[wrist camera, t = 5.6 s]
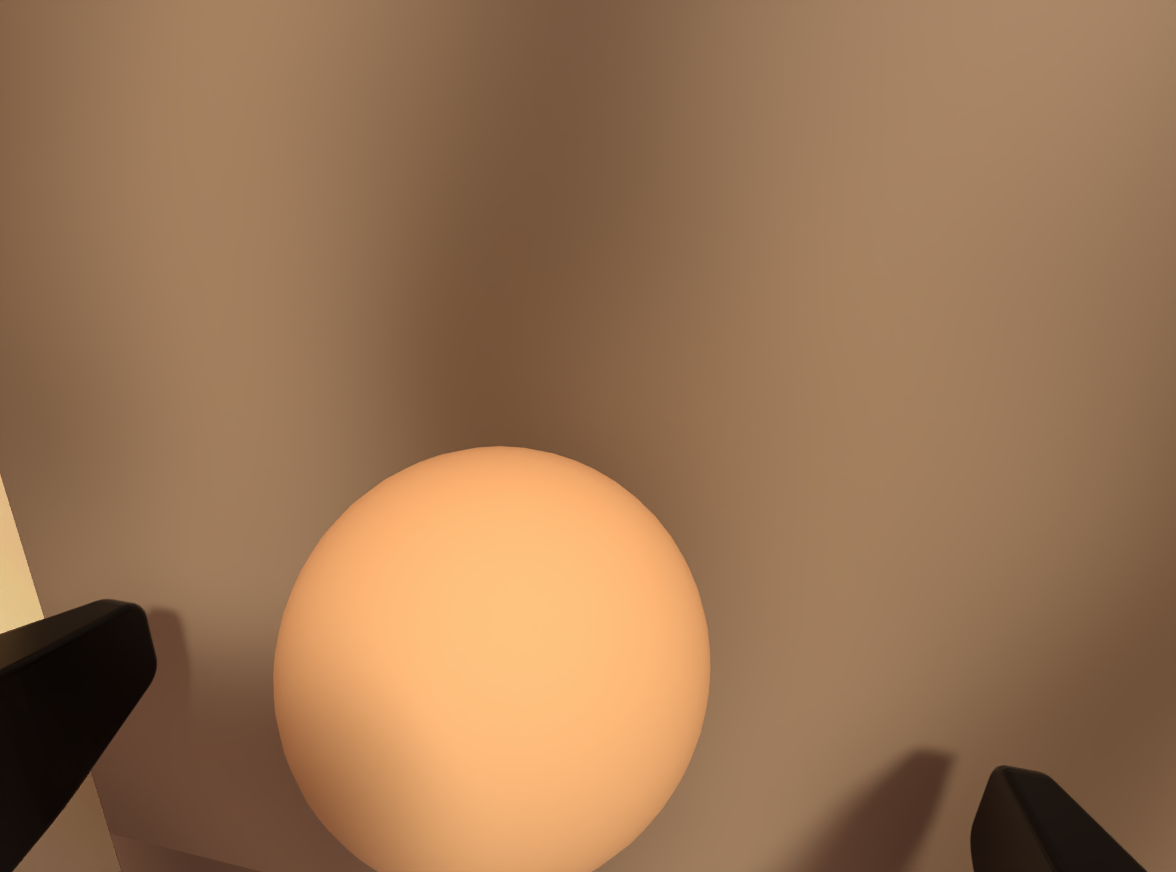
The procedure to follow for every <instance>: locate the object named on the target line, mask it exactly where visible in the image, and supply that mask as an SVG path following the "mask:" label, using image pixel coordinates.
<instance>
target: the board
mask: <svg viewBox="0 0 1176 872" xmlns="http://www.w3.org/2000/svg"><path fill="white" fill-rule="evenodd" d="M494 446H505V447H520V448H528V449H533V450H538V451H544V452H549V453H554V454H557V455H560V456H563V457H566V458H569V459H572V460H575V461H578V462H580V463H582V464H584V465H586V466H589V467H591V468H593V469H595V470H597V471H599V472H600V473H602V474H604V475H605V476H607V477H609V478H610V479H612V480H614V481H615V482H617V483H618V484H619V485H621V486H622V487H623V488H625V489H626V490H627V491H628V492H630V493H631V494H632V495H634V496H635V497H636V498H637V499H638V500H639V501H640V502H641V503H642V504H643V505H644V506H645V507H646V508H647V509H648V510H649V511H650V512H651V513H652V514H653V515H654V516H656V518H657V519H658V520H659V521H660V523H661V524H662V525H663V527H664V528H665V529H666V530H667V532H668V533H669V534H670V535H671V537H672V539H673V540H674V542H675V544H676V545H677V547H678V549H679V550H680V552H681V554H682V555H683V557H684V559H685V561H686V563H687V565H688V567H689V569H690V572H691V574H692V576H693V579H694V581H695V583H696V586H697V588H698V591H699V595H700V599H701V602H702V606H703V610H704V614H705V618H706V623H707V627H708V636H709V645H710V685H709V696H708V701H707V707H706V712H705V717H704V721H703V725H702V730H701V734H700V737H699V739H698V742H697V745H696V747H695V750H694V753H693V755H692V758H691V760H690V762H689V765H688V767H687V769H686V772H685V774H684V776H683V777H682V779H681V781H680V782H679V784H678V786H677V787H676V789H675V791H674V792H673V794H672V795H671V797H670V798H669V800H668V801H667V803H666V804H665V806H664V808H663V809H662V811H661V812H660V813H659V814H658V815H657V816H656V817H655V819H654V820H653V821H652V822H651V823H650V824H649V825H648V826H647V827H646V829H645V830H644V831H643V832H642V833H641V834H640V835H639V836H638V837H637V838H636V839H635V840H634V841H633V842H632V843H631V844H630V845H629V846H627V847H626V848H625V849H623V850H622V851H621V852H619V853H618V854H617V855H615V856H614V857H613V858H611V859H610V860H609V861H607V862H606V863H604V864H603V865H602V866H600V867H599V868H598V869H596V870H594V871H592V872H974V871H973V865H972V858H971V850H970V834H971V828H972V824H973V821H974V818H975V815H976V812H977V810H978V807H979V804H980V801H981V799H982V796H983V793H984V790H985V788H986V785H987V782H988V779H989V777H990V775H991V773H992V771H993V770H994V769H995V768H996V767H997V766H1001V765H1008V766H1013V767H1018V768H1024V769H1029V770H1034V771H1039V772H1042V773H1045V774H1046V775H1048V776H1050V777H1051V778H1052V779H1053V780H1054V781H1056V782H1057V783H1058V784H1059V785H1060V786H1061V787H1062V788H1063V789H1064V790H1065V791H1066V792H1067V793H1068V794H1069V795H1070V796H1071V797H1072V798H1073V799H1074V800H1075V801H1076V802H1077V803H1078V804H1079V805H1080V806H1081V807H1082V808H1083V809H1084V810H1085V811H1086V812H1087V813H1088V814H1089V815H1090V816H1091V817H1092V818H1093V819H1094V820H1095V821H1097V822H1098V823H1099V824H1100V825H1101V826H1102V827H1103V828H1104V829H1105V830H1106V831H1107V832H1108V833H1109V834H1110V835H1111V836H1112V837H1113V838H1114V839H1115V840H1116V841H1117V842H1118V843H1119V844H1120V845H1121V846H1122V847H1123V848H1124V849H1125V850H1126V851H1127V852H1128V853H1129V854H1130V855H1131V856H1132V857H1133V858H1134V859H1135V860H1136V861H1137V862H1138V863H1139V864H1140V865H1141V866H1142V867H1144V868H1145V869H1146V870H1147V871H1148V872H1176V0H0V474H1V478H2V481H3V484H4V487H5V491H6V494H7V497H8V501H9V504H10V507H11V510H12V514H13V517H14V520H15V523H16V527H17V530H18V533H19V537H20V540H21V543H22V546H23V550H24V553H25V556H26V560H27V563H28V566H29V569H30V573H31V576H32V579H33V582H34V586H35V589H36V592H37V596H38V599H39V602H40V605H41V609H42V612H43V615H44V618H48V617H51V616H54V615H57V614H60V613H62V612H65V611H68V610H71V609H74V608H77V607H80V606H83V605H86V604H88V603H91V602H94V601H97V600H101V599H115V600H120V601H126V602H131V603H136V604H138V605H140V606H141V607H142V608H143V609H144V610H145V612H146V615H147V618H148V623H149V627H150V631H151V635H152V639H153V644H154V648H155V652H156V656H157V670H156V674H155V677H154V679H153V681H152V683H151V685H150V686H149V688H148V689H147V691H146V692H145V693H144V695H143V696H142V698H141V699H140V701H139V702H138V703H137V705H136V706H135V708H134V709H133V711H132V712H131V714H130V715H129V716H128V718H127V719H126V721H125V722H124V724H123V725H122V726H121V728H120V729H119V731H118V732H117V734H116V735H115V737H114V738H113V739H112V741H111V742H110V744H109V745H108V747H107V748H106V749H105V751H104V752H103V754H102V755H101V757H100V758H99V760H98V761H97V762H96V764H95V765H94V767H93V768H92V770H91V772H92V776H93V779H94V782H95V786H96V789H97V792H98V795H99V799H100V802H101V805H102V808H103V812H104V815H105V818H106V822H107V825H108V828H109V831H110V835H111V838H112V841H113V844H114V848H115V851H116V854H117V858H118V861H119V864H120V867H121V871H122V872H377V871H376V870H374V869H372V868H371V867H369V866H368V865H366V864H365V863H364V862H362V861H361V860H359V859H358V858H357V857H356V856H355V855H353V854H352V853H351V852H350V851H349V850H347V849H346V848H345V847H344V846H343V845H342V844H341V843H340V842H339V841H338V840H337V839H336V838H335V837H334V836H333V835H332V834H331V833H330V832H329V831H328V830H327V828H326V827H325V826H324V825H323V824H322V822H321V821H320V820H319V819H318V818H317V816H316V815H315V813H314V812H313V810H312V809H311V808H310V806H309V805H308V803H307V802H306V800H305V798H304V796H303V794H302V792H301V790H300V788H299V786H298V784H297V782H296V780H295V778H294V776H293V774H292V772H291V770H290V767H289V765H288V762H287V759H286V757H285V754H284V751H283V746H282V742H281V738H280V733H279V729H278V725H277V720H276V716H275V705H274V683H273V672H274V658H275V650H276V644H277V639H278V633H279V629H280V625H281V621H282V616H283V612H284V610H285V607H286V604H287V602H288V599H289V596H290V594H291V591H292V589H293V586H294V584H295V582H296V580H297V577H298V575H299V573H300V571H301V569H302V568H303V566H304V564H305V563H306V561H307V559H308V558H309V556H310V554H311V553H312V551H313V550H314V548H315V547H316V545H317V544H318V542H319V541H320V539H321V538H322V536H323V535H324V534H325V533H326V532H327V531H328V529H329V528H330V527H331V526H332V525H333V524H334V523H335V521H336V520H337V519H338V518H339V517H340V516H341V515H342V514H343V513H344V512H345V511H346V510H347V509H348V508H349V507H350V506H351V505H352V504H353V503H354V502H356V501H357V500H358V499H359V498H361V497H362V496H363V495H365V494H366V493H367V492H369V491H370V490H371V489H373V488H374V487H375V486H377V485H378V484H379V483H381V482H382V481H383V480H385V479H387V478H389V477H391V476H392V475H394V474H396V473H398V472H400V471H402V470H404V469H406V468H408V467H410V466H412V465H414V464H416V463H419V462H421V461H424V460H427V459H430V458H433V457H436V456H438V455H441V454H446V453H451V452H456V451H461V450H467V449H472V448H477V447H494Z"/></svg>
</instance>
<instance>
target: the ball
mask: <svg viewBox="0 0 1176 872" xmlns="http://www.w3.org/2000/svg"><path fill="white" fill-rule="evenodd" d="M273 683H274V705H275V716H276V720H277V725H278V729H279V733H280V738H281V742H282V746H283V751H284V754H285V757H286V759H287V762H288V765H289V767H290V770H291V772H292V774H293V776H294V778H295V780H296V782H297V784H298V786H299V788H300V790H301V792H302V794H303V796H304V798H305V800H306V802H307V803H308V805H309V806H310V808H311V809H312V810H313V812H314V813H315V815H316V816H317V818H318V819H319V820H320V821H321V822H322V824H323V825H324V826H325V827H326V828H327V830H328V831H329V832H330V833H331V834H332V835H333V836H334V837H335V838H336V839H337V840H338V841H339V842H340V843H341V844H342V845H343V846H344V847H345V848H346V849H347V850H349V851H350V852H351V853H352V854H353V855H355V856H356V857H357V858H358V859H359V860H361V861H362V862H364V863H365V864H366V865H368V866H369V867H371V868H372V869H374V870H376V871H377V872H592V871H594V870H596V869H598V868H599V867H600V866H602V865H603V864H604V863H606V862H607V861H609V860H610V859H611V858H613V857H614V856H615V855H617V854H618V853H619V852H621V851H622V850H623V849H625V848H626V847H627V846H629V845H630V844H631V843H632V842H633V841H634V840H635V839H636V838H637V837H638V836H639V835H640V834H641V833H642V832H643V831H644V830H645V829H646V827H647V826H648V825H649V824H650V823H651V822H652V821H653V820H654V819H655V817H656V816H657V815H658V814H659V813H660V812H661V811H662V809H663V808H664V806H665V804H666V803H667V801H668V800H669V798H670V797H671V795H672V794H673V792H674V791H675V789H676V787H677V786H678V784H679V782H680V781H681V779H682V777H683V776H684V774H685V772H686V769H687V767H688V765H689V762H690V760H691V758H692V755H693V753H694V750H695V747H696V745H697V742H698V739H699V737H700V734H701V730H702V725H703V721H704V717H705V712H706V707H707V701H708V696H709V685H710V645H709V636H708V627H707V623H706V618H705V614H704V610H703V606H702V602H701V599H700V595H699V591H698V588H697V586H696V583H695V581H694V579H693V576H692V574H691V572H690V569H689V567H688V565H687V563H686V561H685V559H684V557H683V555H682V554H681V552H680V550H679V549H678V547H677V545H676V544H675V542H674V540H673V539H672V537H671V535H670V534H669V533H668V532H667V530H666V529H665V528H664V527H663V525H662V524H661V523H660V521H659V520H658V519H657V518H656V516H654V515H653V514H652V513H651V512H650V511H649V510H648V509H647V508H646V507H645V506H644V505H643V504H642V503H641V502H640V501H639V500H638V499H637V498H636V497H635V496H634V495H632V494H631V493H630V492H628V491H627V490H626V489H625V488H623V487H622V486H621V485H619V484H618V483H617V482H615V481H614V480H612V479H610V478H609V477H607V476H605V475H604V474H602V473H600V472H599V471H597V470H595V469H593V468H591V467H589V466H586V465H584V464H582V463H580V462H578V461H575V460H572V459H569V458H566V457H563V456H560V455H557V454H554V453H549V452H544V451H538V450H533V449H528V448H520V447H505V446H494V447H477V448H472V449H467V450H461V451H456V452H451V453H446V454H441V455H438V456H436V457H433V458H430V459H427V460H424V461H421V462H419V463H416V464H414V465H412V466H410V467H408V468H406V469H404V470H402V471H400V472H398V473H396V474H394V475H392V476H391V477H389V478H387V479H385V480H383V481H382V482H381V483H379V484H378V485H377V486H375V487H374V488H373V489H371V490H370V491H369V492H367V493H366V494H365V495H363V496H362V497H361V498H359V499H358V500H357V501H356V502H354V503H353V504H352V505H351V506H350V507H349V508H348V509H347V510H346V511H345V512H344V513H343V514H342V515H341V516H340V517H339V518H338V519H337V520H336V521H335V523H334V524H333V525H332V526H331V527H330V528H329V529H328V531H327V532H326V533H325V534H324V535H323V536H322V538H321V539H320V541H319V542H318V544H317V545H316V547H315V548H314V550H313V551H312V553H311V554H310V556H309V558H308V559H307V561H306V563H305V564H304V566H303V568H302V569H301V571H300V573H299V575H298V577H297V580H296V582H295V584H294V586H293V589H292V591H291V594H290V596H289V599H288V602H287V604H286V607H285V610H284V612H283V616H282V621H281V625H280V629H279V633H278V639H277V644H276V650H275V658H274V672H273Z"/></svg>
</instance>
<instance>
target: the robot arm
mask: <svg viewBox="0 0 1176 872" xmlns="http://www.w3.org/2000/svg"><path fill="white" fill-rule="evenodd" d="M156 670H157V656H156V652H155V648H154V644H153V639H152V635H151V631H150V627H149V623H148V618H147V615H146V612H145V610H144V609H143V608H142V607H141V606H140V605H138V604H136V603H131V602H126V601H120V600H115V599H101V600H97V601H94V602H91V603H88V604H86V605H83V606H80V607H77V608H74V609H71V610H68V611H65V612H62V613H60V614H57V615H54V616H51V617H48V618H45V619H42V620H39V621H36V622H34V623H31V624H28V625H25V626H22V627H19V628H16V629H13V630H10V631H7V632H5V633H2V634H0V872H13V870H14V869H15V868H16V867H17V866H18V864H19V863H20V862H21V861H22V859H23V858H24V857H25V856H26V855H27V853H28V852H29V851H30V850H31V849H32V847H33V846H34V845H35V844H36V842H37V841H38V840H39V839H40V838H41V836H42V835H43V834H44V833H45V832H46V830H47V829H48V828H49V827H50V825H51V824H52V823H53V821H54V820H55V819H56V818H57V816H58V815H59V814H60V813H61V811H62V810H63V809H64V808H65V806H66V805H67V803H68V802H69V801H70V799H71V798H72V797H73V795H74V794H75V792H76V791H77V790H78V788H79V787H80V785H81V784H82V783H83V781H84V780H85V778H86V777H87V775H88V774H89V772H90V771H91V770H92V768H93V767H94V765H95V764H96V762H97V761H98V760H99V758H100V757H101V755H102V754H103V752H104V751H105V749H106V748H107V747H108V745H109V744H110V742H111V741H112V739H113V738H114V737H115V735H116V734H117V732H118V731H119V729H120V728H121V726H122V725H123V724H124V722H125V721H126V719H127V718H128V716H129V715H130V714H131V712H132V711H133V709H134V708H135V706H136V705H137V703H138V702H139V701H140V699H141V698H142V696H143V695H144V693H145V692H146V691H147V689H148V688H149V686H150V685H151V683H152V681H153V679H154V677H155V674H156ZM970 850H971V858H972V865H973V871H974V872H1148V871H1147V870H1146V869H1145V868H1144V867H1142V866H1141V865H1140V864H1139V863H1138V862H1137V861H1136V860H1135V859H1134V858H1133V857H1132V856H1131V855H1130V854H1129V853H1128V852H1127V851H1126V850H1125V849H1124V848H1123V847H1122V846H1121V845H1120V844H1119V843H1118V842H1117V841H1116V840H1115V839H1114V838H1113V837H1112V836H1111V835H1110V834H1109V833H1108V832H1107V831H1106V830H1105V829H1104V828H1103V827H1102V826H1101V825H1100V824H1099V823H1098V822H1097V821H1095V820H1094V819H1093V818H1092V817H1091V816H1090V815H1089V814H1088V813H1087V812H1086V811H1085V810H1084V809H1083V808H1082V807H1081V806H1080V805H1079V804H1078V803H1077V802H1076V801H1075V800H1074V799H1073V798H1072V797H1071V796H1070V795H1069V794H1068V793H1067V792H1066V791H1065V790H1064V789H1063V788H1062V787H1061V786H1060V785H1059V784H1058V783H1057V782H1056V781H1054V780H1053V779H1052V778H1051V777H1050V776H1048V775H1046V774H1045V773H1042V772H1039V771H1034V770H1029V769H1024V768H1018V767H1013V766H1008V765H1001V766H997V767H996V768H995V769H994V770H993V771H992V773H991V775H990V777H989V779H988V782H987V785H986V788H985V790H984V793H983V796H982V799H981V801H980V804H979V807H978V810H977V812H976V815H975V818H974V821H973V824H972V828H971V834H970Z"/></svg>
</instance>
